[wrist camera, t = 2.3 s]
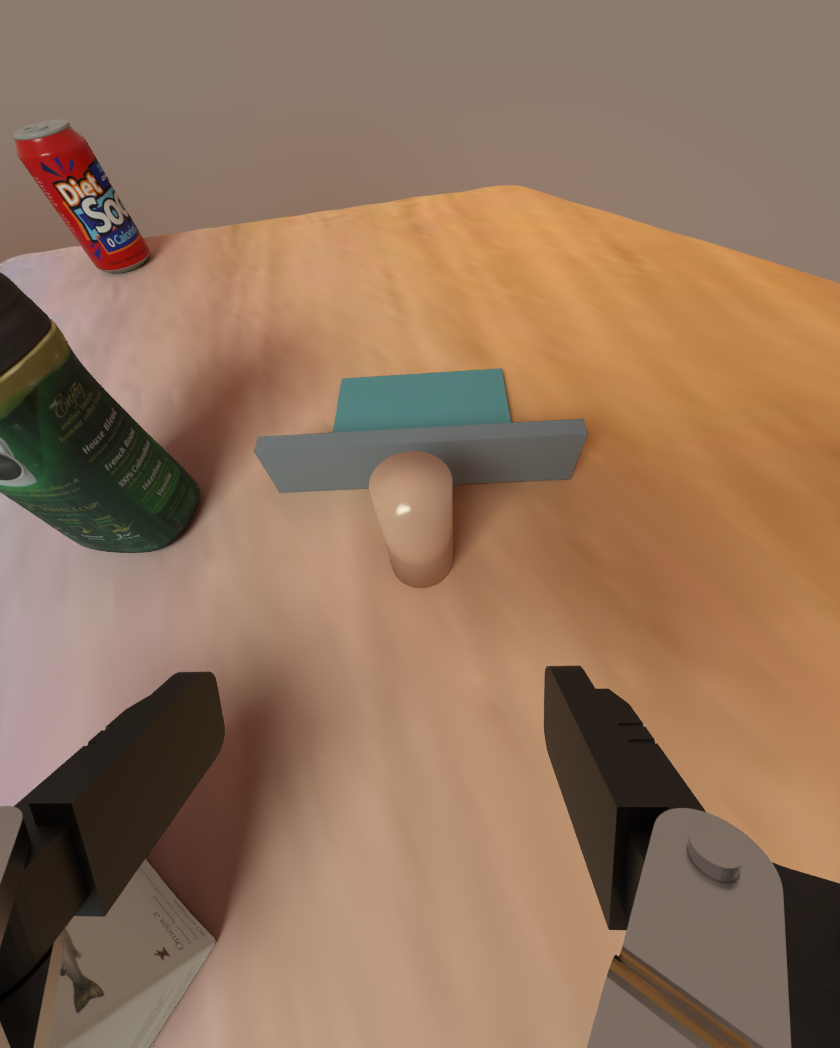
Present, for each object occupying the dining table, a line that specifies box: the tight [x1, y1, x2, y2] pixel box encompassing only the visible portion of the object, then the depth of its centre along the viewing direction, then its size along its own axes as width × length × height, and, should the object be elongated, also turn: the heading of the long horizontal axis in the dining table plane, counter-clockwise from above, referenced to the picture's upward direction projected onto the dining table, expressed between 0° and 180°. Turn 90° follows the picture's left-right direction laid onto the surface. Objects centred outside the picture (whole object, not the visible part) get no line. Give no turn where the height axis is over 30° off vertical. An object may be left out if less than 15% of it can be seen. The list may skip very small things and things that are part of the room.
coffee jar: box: [0, 273, 199, 553], centre depth 25 cm, size 10×8×19 cm
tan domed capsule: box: [369, 451, 453, 588], centre depth 25 cm, size 4×4×9 cm
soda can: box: [11, 120, 149, 273], centre depth 53 cm, size 8×8×15 cm
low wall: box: [254, 419, 588, 493], centre depth 30 cm, size 24×2×5 cm, turn 90°
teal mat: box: [333, 369, 511, 433], centre depth 36 cm, size 16×11×1 cm
